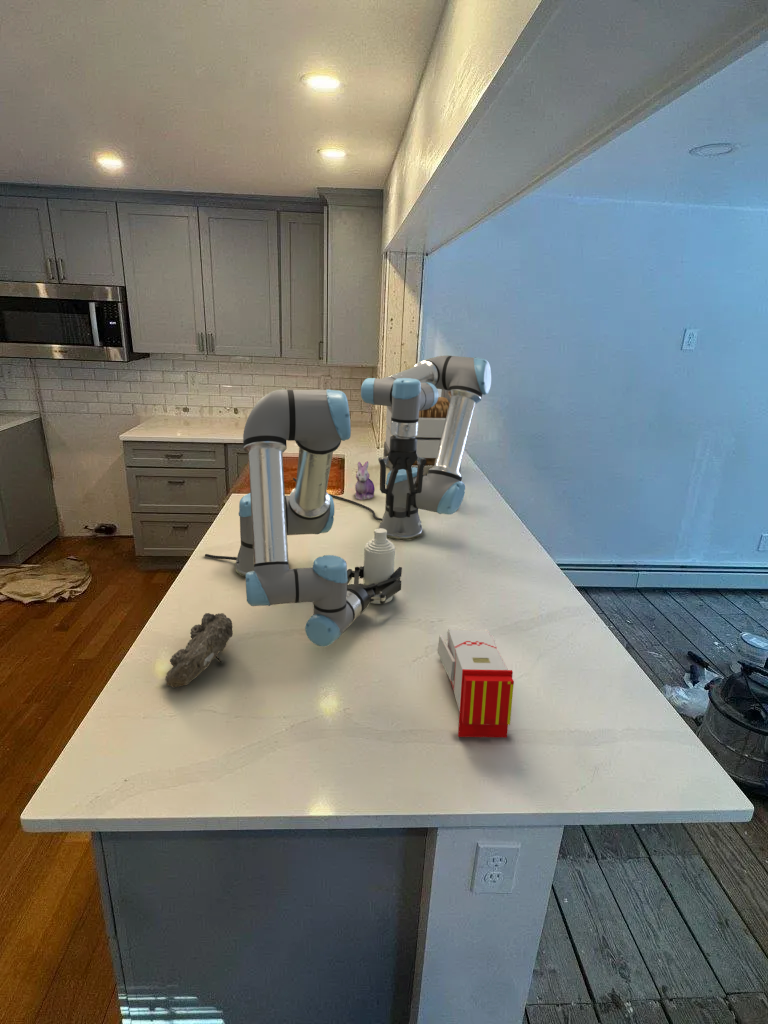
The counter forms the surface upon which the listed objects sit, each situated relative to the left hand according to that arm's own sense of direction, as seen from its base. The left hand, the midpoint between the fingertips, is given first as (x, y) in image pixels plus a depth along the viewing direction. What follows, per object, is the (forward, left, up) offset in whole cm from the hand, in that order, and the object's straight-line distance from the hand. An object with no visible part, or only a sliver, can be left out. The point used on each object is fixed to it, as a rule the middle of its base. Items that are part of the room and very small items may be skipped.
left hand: (385, 568), depth 158 cm
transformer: (-32, +119, -7) cm, 123 cm away
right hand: (-1, +11, +12) cm, 16 cm away
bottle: (0, -5, -7) cm, 8 cm away
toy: (+34, -34, -7) cm, 48 cm away
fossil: (-22, -50, -7) cm, 55 cm away
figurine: (-40, +72, -7) cm, 82 cm away
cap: (-1, +11, +13) cm, 17 cm away
